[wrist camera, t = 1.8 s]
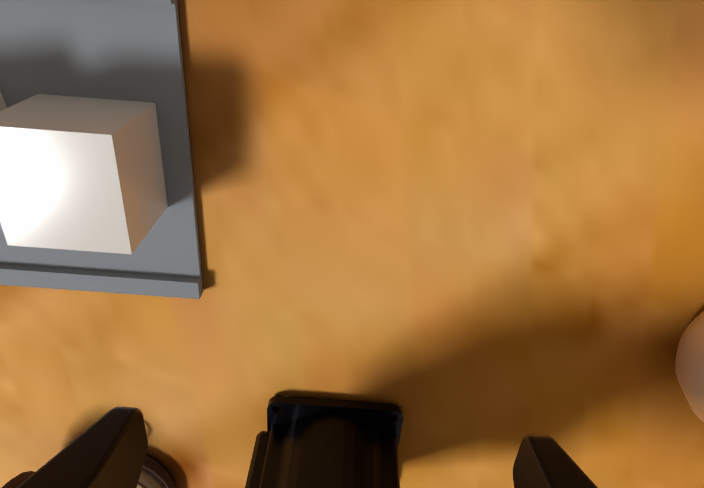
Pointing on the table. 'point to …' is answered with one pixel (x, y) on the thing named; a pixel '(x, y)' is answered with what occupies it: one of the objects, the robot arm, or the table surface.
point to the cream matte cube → (80, 173)
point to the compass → (152, 482)
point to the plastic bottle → (692, 365)
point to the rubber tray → (117, 84)
